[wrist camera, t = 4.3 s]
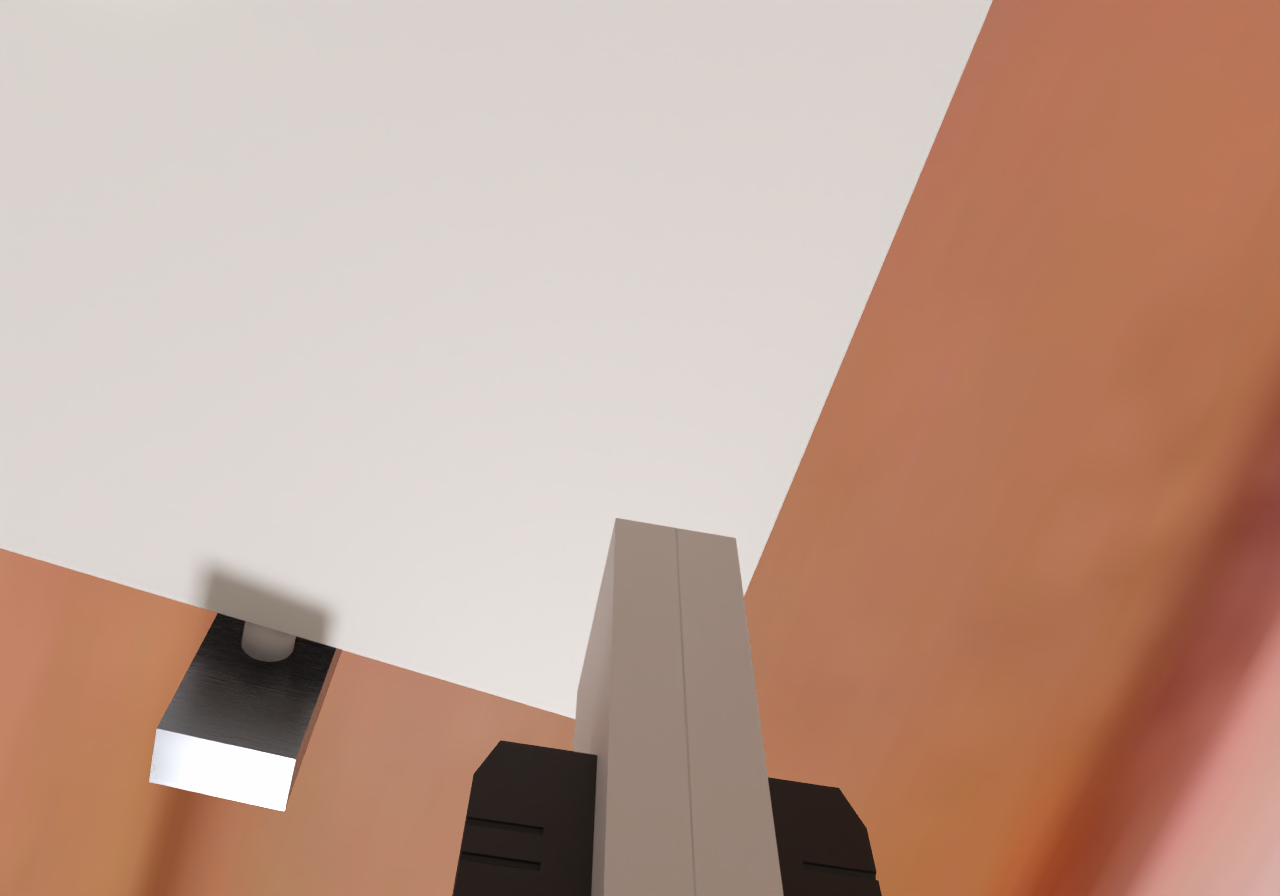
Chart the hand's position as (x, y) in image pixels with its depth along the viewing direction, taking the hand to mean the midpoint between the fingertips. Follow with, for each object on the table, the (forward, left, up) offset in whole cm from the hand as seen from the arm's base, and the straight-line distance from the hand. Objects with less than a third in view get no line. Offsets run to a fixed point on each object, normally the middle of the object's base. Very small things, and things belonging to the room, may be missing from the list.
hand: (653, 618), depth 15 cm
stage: (-6, 0, -11) cm, 12 cm away
